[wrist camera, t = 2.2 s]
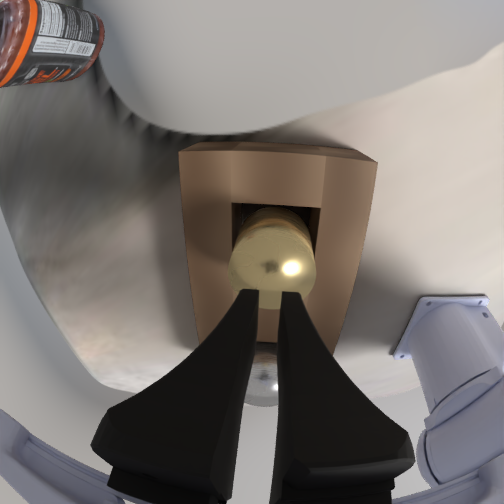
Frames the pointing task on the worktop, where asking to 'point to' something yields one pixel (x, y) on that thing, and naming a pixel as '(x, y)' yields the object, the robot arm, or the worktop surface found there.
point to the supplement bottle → (46, 41)
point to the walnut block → (278, 193)
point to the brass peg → (273, 256)
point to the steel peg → (263, 376)
